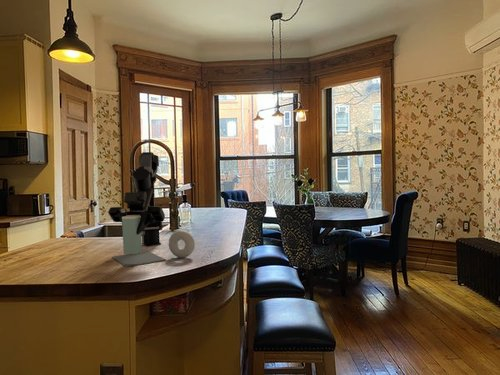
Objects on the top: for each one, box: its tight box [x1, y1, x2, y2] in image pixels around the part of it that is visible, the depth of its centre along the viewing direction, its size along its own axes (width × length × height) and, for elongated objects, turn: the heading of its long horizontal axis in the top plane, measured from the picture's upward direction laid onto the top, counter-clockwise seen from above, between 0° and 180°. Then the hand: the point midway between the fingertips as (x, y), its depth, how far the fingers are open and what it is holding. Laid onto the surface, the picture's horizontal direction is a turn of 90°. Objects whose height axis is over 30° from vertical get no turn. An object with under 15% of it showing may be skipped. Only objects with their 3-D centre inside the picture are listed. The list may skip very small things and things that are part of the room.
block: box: [121, 215, 143, 255], centre depth 126 cm, size 4×4×12 cm
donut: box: [168, 229, 196, 259], centre depth 133 cm, size 10×4×10 cm, turn 74°
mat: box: [111, 250, 167, 268], centre depth 133 cm, size 14×18×1 cm
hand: (130, 234), depth 125 cm, fingers closed on block, 4 cm apart
